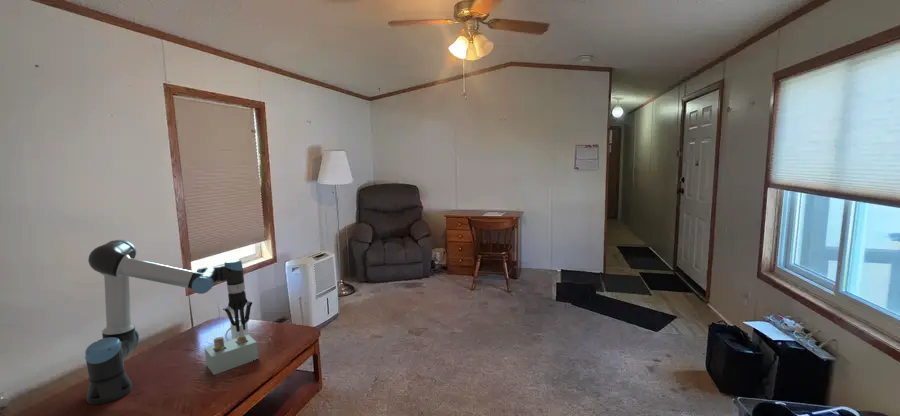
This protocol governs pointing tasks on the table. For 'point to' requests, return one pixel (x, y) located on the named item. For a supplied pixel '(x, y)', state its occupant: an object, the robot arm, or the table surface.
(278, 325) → the table surface
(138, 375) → the table surface
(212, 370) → the socket block
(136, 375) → the table surface
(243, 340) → the peg far
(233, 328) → the mug
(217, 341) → the peg near
